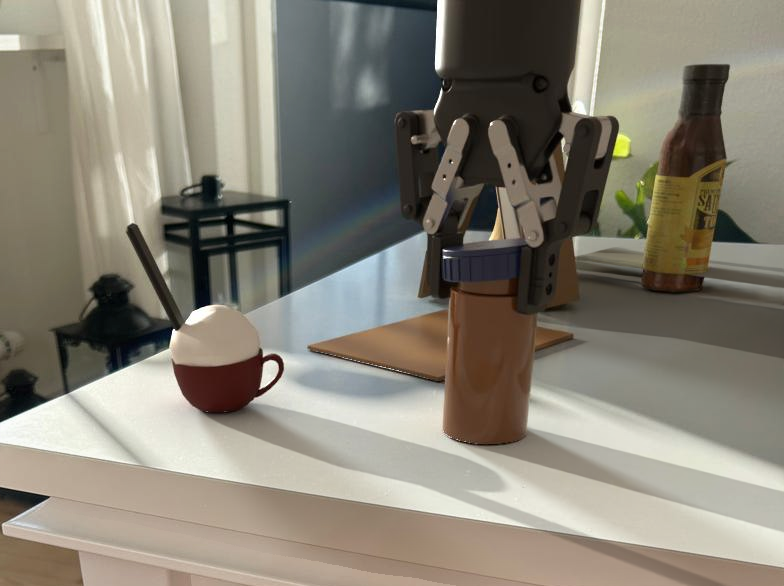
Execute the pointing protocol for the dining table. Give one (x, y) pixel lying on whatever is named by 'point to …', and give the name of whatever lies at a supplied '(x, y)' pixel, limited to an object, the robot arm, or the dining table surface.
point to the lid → (483, 260)
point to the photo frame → (513, 229)
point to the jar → (488, 363)
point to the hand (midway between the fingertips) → (487, 303)
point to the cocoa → (210, 347)
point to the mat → (412, 345)
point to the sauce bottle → (688, 185)
